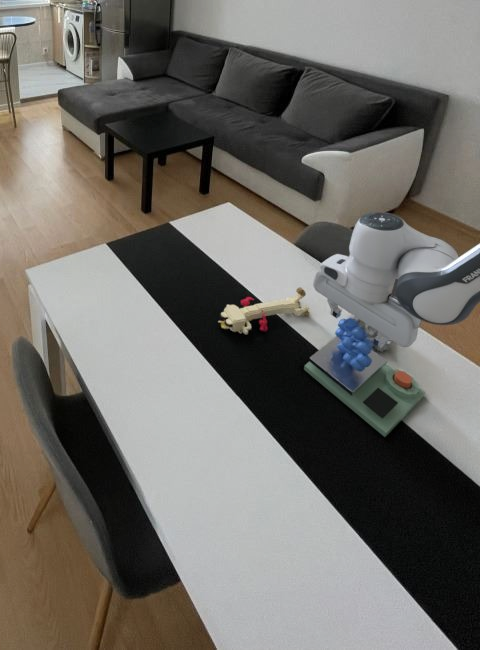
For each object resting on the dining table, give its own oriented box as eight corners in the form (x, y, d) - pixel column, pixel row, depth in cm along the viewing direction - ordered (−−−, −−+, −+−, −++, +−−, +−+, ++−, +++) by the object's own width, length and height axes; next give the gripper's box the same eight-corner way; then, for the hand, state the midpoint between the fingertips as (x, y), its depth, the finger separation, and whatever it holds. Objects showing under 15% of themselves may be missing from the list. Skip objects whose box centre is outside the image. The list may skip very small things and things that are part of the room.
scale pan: (415, 384, 94) (417, 381, 94) (381, 420, 88) (382, 416, 87) (343, 333, 107) (344, 330, 107) (308, 361, 101) (309, 357, 100)
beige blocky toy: (288, 299, 123) (210, 313, 118) (294, 275, 120) (214, 288, 115) (313, 326, 114) (229, 343, 109) (320, 301, 111) (234, 316, 106)
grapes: (382, 387, 93) (394, 347, 88) (350, 386, 93) (360, 346, 89) (355, 341, 104) (364, 303, 99) (326, 340, 104) (334, 303, 100)
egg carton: (352, 313, 116) (355, 302, 114) (386, 324, 112) (389, 312, 111) (352, 343, 108) (355, 331, 106) (388, 356, 104) (392, 343, 102)
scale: (423, 396, 95) (427, 386, 94) (385, 437, 87) (388, 428, 86) (342, 338, 109) (344, 329, 108) (303, 369, 102) (305, 360, 101)
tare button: (412, 384, 95) (414, 378, 94) (405, 391, 93) (407, 385, 93) (398, 373, 97) (399, 368, 96) (390, 380, 96) (392, 375, 95)
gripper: (432, 306, 84) (415, 357, 89) (330, 250, 100) (321, 295, 105) (415, 321, 81) (400, 372, 86) (313, 260, 97) (305, 306, 103)
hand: (356, 329), depth 96 cm, fingers open, 8 cm apart
